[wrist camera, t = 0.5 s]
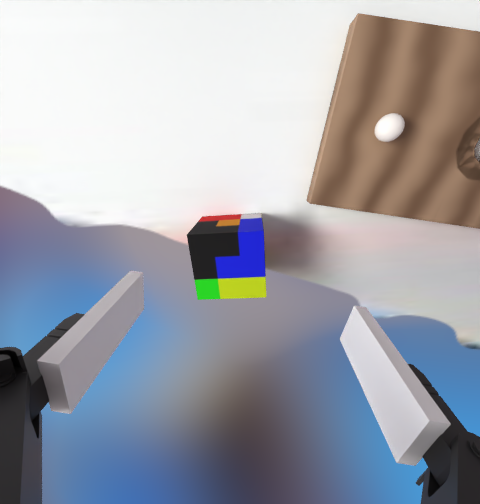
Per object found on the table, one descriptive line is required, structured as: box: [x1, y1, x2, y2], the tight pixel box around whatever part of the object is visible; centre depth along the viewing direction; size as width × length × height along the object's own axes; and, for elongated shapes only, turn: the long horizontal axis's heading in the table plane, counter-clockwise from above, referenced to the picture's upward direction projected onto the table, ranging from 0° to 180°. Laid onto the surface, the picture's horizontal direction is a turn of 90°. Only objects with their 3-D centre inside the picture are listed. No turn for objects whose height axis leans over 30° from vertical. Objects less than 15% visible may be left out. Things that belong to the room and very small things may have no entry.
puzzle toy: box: [187, 213, 266, 300], centre depth 36 cm, size 10×10×10 cm
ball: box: [375, 113, 405, 142], centre depth 29 cm, size 3×3×3 cm
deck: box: [307, 13, 480, 228], centre depth 32 cm, size 30×22×2 cm
